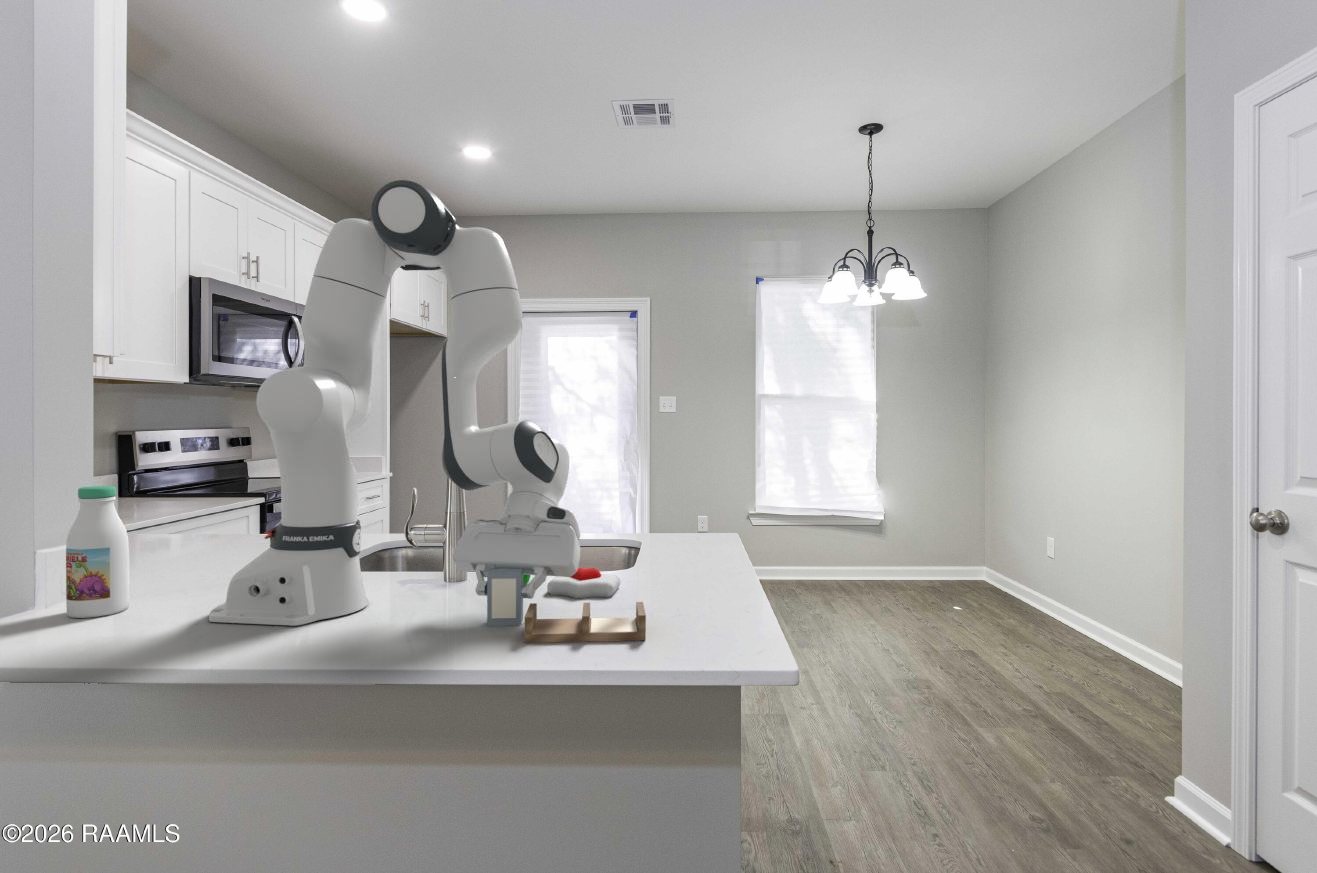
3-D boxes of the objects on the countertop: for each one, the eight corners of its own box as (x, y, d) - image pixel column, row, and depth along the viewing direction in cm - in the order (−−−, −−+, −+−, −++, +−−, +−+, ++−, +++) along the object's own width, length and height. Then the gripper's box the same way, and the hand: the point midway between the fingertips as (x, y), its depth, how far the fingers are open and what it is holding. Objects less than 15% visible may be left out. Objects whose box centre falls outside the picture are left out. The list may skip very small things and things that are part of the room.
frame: (487, 626, 101) (487, 573, 100) (490, 620, 104) (490, 569, 104) (520, 625, 101) (520, 573, 101) (523, 619, 104) (523, 568, 104)
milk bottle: (104, 603, 111) (102, 483, 110) (142, 607, 109) (140, 485, 109) (53, 617, 103) (51, 488, 103) (93, 621, 102) (91, 490, 101)
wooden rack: (524, 642, 93) (524, 617, 93) (529, 627, 100) (530, 603, 100) (645, 640, 95) (645, 615, 95) (642, 625, 102) (642, 601, 102)
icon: (542, 574, 117) (558, 562, 127) (542, 599, 117) (558, 585, 127) (610, 577, 115) (621, 565, 125) (610, 602, 115) (621, 588, 125)
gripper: (463, 508, 111) (433, 580, 101) (582, 512, 107) (562, 588, 98) (475, 530, 115) (447, 601, 106) (589, 535, 112) (571, 609, 102)
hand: (503, 595), depth 102 cm, fingers open, 6 cm apart
